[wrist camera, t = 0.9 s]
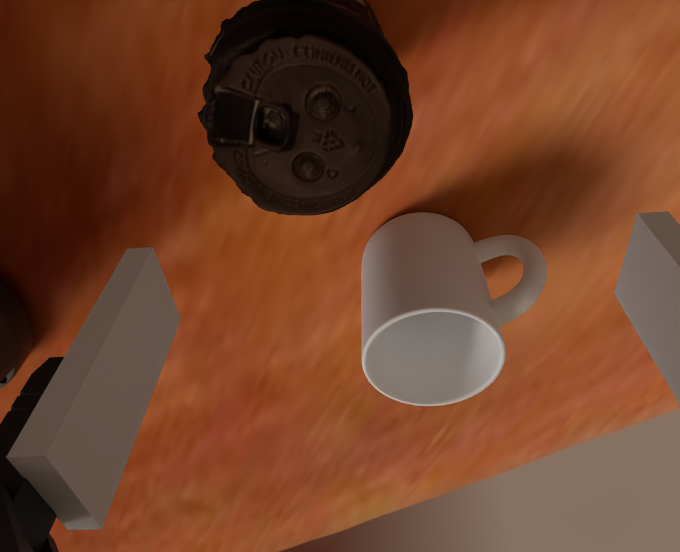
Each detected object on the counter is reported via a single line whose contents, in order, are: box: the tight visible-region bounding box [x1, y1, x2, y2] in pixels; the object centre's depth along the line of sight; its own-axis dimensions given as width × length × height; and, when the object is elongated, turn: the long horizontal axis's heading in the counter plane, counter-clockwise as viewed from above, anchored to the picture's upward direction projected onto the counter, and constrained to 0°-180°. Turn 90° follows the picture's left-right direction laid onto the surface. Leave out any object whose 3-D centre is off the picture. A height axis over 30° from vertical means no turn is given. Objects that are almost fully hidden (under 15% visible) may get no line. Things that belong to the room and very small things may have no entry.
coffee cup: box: [197, 0, 413, 215], centre depth 25 cm, size 9×8×13 cm
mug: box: [362, 212, 547, 406], centre depth 34 cm, size 12×8×10 cm
